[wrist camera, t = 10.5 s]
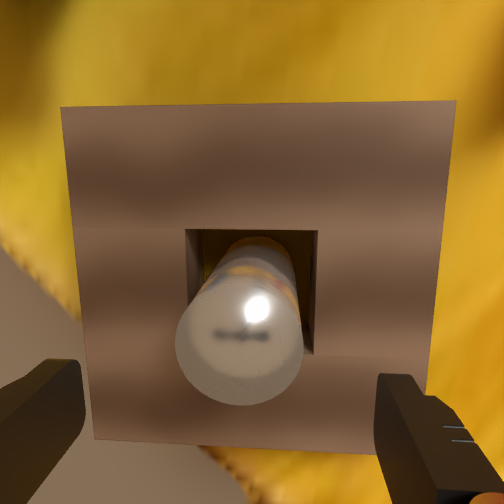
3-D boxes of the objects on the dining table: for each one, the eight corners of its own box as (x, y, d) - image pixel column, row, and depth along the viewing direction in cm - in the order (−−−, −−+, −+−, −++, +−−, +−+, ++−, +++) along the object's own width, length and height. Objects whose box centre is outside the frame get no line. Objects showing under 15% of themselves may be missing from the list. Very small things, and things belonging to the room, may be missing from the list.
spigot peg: (219, 235, 22) (171, 284, 13) (294, 236, 22) (305, 287, 12) (221, 306, 23) (177, 402, 14) (293, 308, 23) (302, 408, 13)
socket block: (100, 118, 22) (60, 106, 18) (422, 114, 20) (456, 100, 16) (123, 398, 25) (94, 439, 21) (396, 410, 24) (418, 457, 20)
